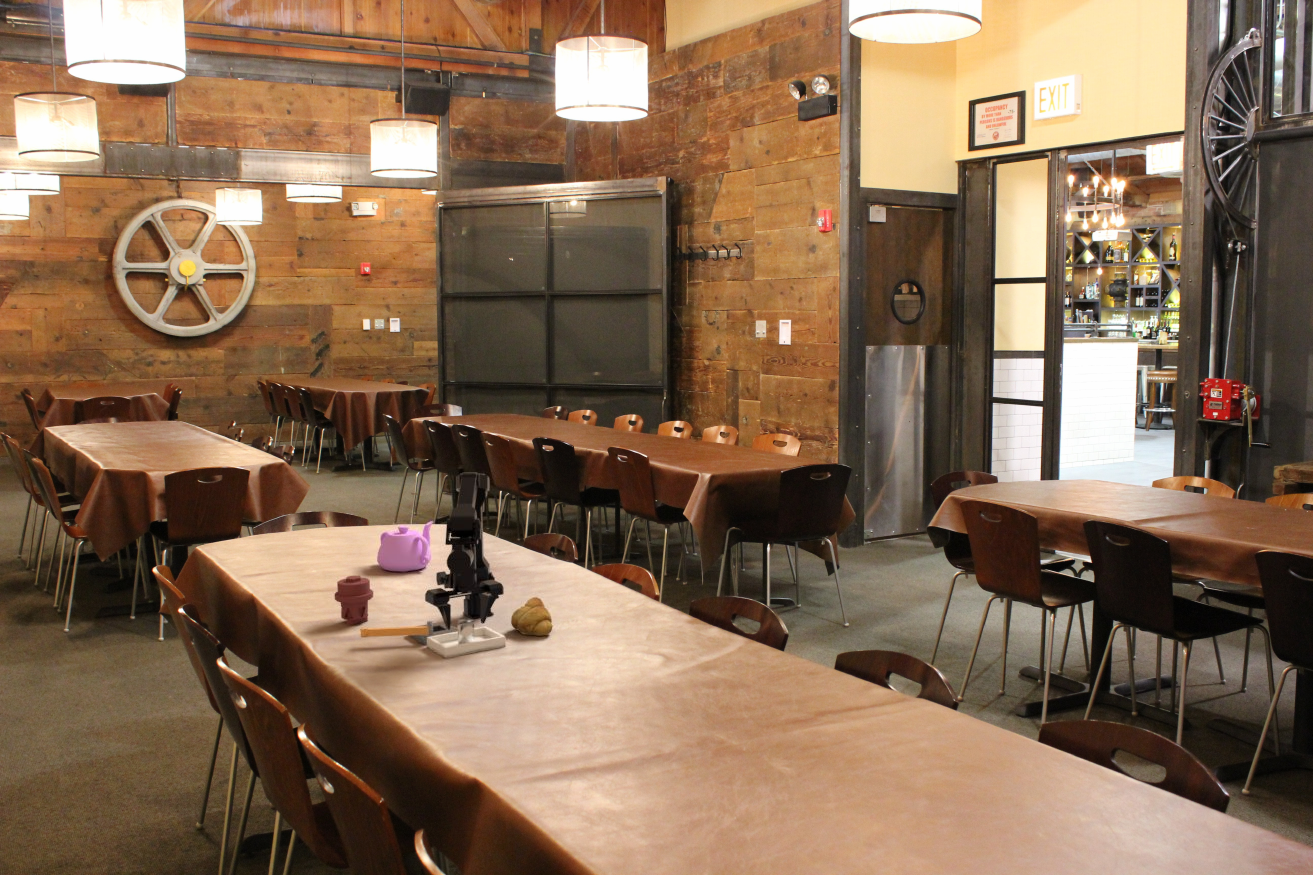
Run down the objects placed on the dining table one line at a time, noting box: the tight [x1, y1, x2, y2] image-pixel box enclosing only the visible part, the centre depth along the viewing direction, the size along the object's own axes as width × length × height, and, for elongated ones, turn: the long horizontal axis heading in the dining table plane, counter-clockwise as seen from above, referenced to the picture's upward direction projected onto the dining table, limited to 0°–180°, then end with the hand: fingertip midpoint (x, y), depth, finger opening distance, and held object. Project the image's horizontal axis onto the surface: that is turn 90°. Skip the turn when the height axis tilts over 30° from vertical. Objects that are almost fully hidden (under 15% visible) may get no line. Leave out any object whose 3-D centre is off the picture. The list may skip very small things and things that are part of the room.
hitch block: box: [408, 621, 458, 646], centre depth 275 cm, size 10×10×2 cm
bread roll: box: [510, 596, 553, 637], centre depth 279 cm, size 13×10×8 cm
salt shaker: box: [457, 617, 475, 645], centre depth 267 cm, size 4×4×6 cm
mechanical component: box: [334, 575, 374, 626], centre depth 288 cm, size 12×10×10 cm
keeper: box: [360, 620, 434, 638], centre depth 269 cm, size 2×18×3 cm, turn 97°
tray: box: [426, 625, 506, 659], centre depth 267 cm, size 16×11×2 cm
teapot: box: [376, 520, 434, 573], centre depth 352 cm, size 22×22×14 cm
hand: (465, 626), depth 266 cm, fingers open, 9 cm apart
